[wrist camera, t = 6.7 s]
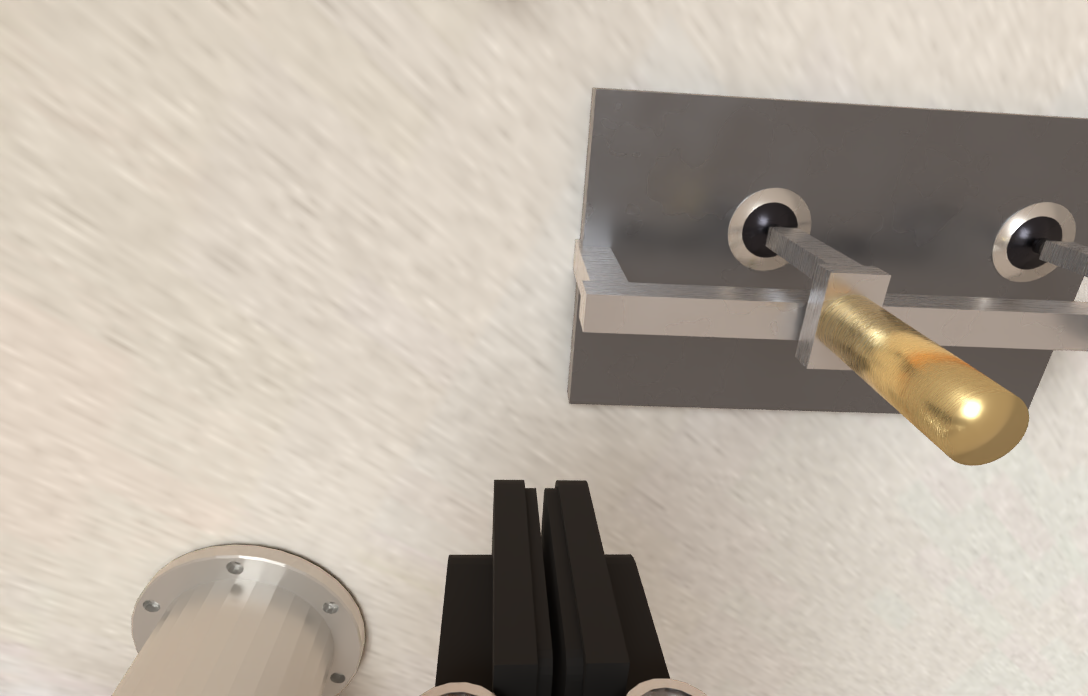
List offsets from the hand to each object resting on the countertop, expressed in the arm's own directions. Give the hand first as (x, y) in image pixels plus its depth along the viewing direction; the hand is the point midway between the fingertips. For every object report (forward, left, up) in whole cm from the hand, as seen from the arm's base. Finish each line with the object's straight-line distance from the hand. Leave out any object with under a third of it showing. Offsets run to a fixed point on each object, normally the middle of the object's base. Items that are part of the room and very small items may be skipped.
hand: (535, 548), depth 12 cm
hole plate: (0, -14, -19) cm, 23 cm away
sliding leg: (+1, -11, -17) cm, 20 cm away
